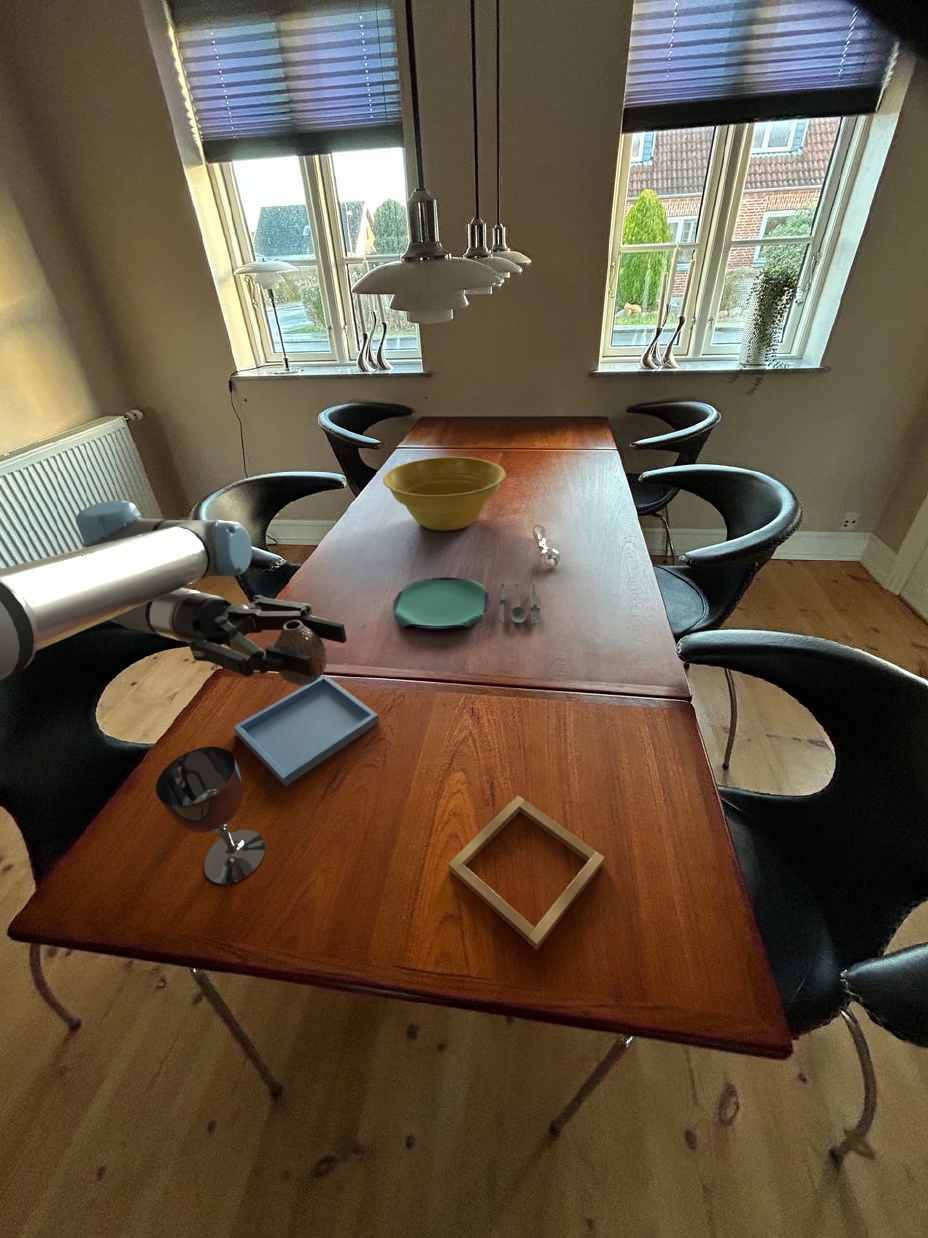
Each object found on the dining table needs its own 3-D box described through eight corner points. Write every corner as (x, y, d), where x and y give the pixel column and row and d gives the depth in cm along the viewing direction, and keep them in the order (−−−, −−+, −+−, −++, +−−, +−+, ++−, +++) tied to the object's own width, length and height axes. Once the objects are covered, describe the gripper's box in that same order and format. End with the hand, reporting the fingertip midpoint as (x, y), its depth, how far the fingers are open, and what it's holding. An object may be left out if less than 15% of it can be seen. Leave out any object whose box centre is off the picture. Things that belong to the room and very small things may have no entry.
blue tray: (285, 786, 73) (282, 778, 72) (236, 734, 82) (233, 726, 81) (379, 722, 83) (378, 714, 82) (326, 681, 92) (324, 674, 91)
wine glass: (185, 876, 63) (137, 795, 54) (229, 820, 69) (193, 740, 61) (241, 896, 61) (200, 814, 52) (281, 836, 67) (251, 755, 58)
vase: (298, 657, 78) (285, 607, 73) (339, 666, 76) (329, 615, 71) (269, 687, 72) (253, 635, 68) (313, 697, 70) (299, 644, 66)
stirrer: (528, 518, 137) (546, 517, 137) (528, 530, 139) (545, 529, 139) (542, 558, 121) (563, 556, 121) (541, 571, 123) (561, 570, 123)
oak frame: (536, 950, 55) (537, 945, 54) (448, 869, 62) (447, 864, 62) (603, 863, 62) (604, 857, 62) (517, 801, 70) (518, 795, 69)
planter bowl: (405, 498, 163) (400, 454, 155) (510, 501, 158) (510, 456, 150) (373, 544, 136) (366, 494, 129) (498, 549, 131) (498, 497, 124)
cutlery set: (402, 584, 119) (401, 575, 117) (537, 585, 116) (537, 575, 115) (385, 635, 102) (384, 626, 101) (541, 638, 100) (542, 628, 99)
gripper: (247, 604, 86) (370, 631, 79) (147, 679, 71) (287, 721, 64) (235, 563, 82) (363, 588, 75) (125, 633, 67) (272, 673, 60)
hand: (327, 649), depth 69 cm, fingers closed on vase, 7 cm apart
